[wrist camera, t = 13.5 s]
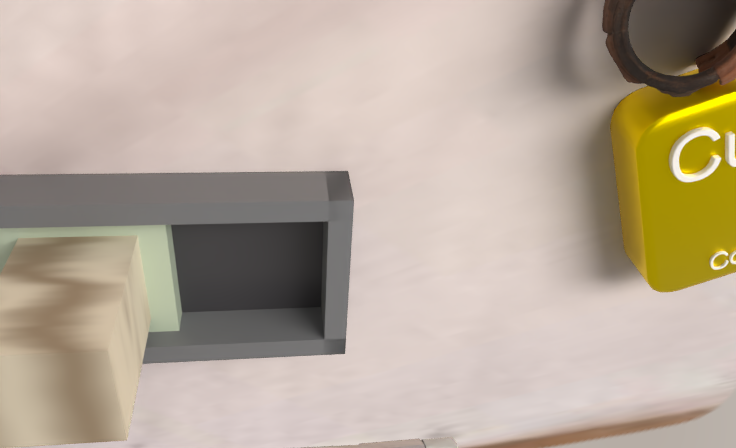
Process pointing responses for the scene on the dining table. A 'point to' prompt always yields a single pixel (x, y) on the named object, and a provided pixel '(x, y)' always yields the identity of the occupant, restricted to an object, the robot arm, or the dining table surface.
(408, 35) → the dining table surface
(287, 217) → the grey rimmed tray
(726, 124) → the element tile
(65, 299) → the block
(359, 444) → the robot arm
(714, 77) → the pottery mug
